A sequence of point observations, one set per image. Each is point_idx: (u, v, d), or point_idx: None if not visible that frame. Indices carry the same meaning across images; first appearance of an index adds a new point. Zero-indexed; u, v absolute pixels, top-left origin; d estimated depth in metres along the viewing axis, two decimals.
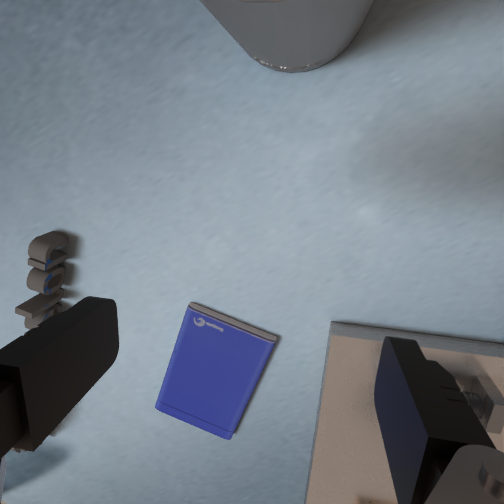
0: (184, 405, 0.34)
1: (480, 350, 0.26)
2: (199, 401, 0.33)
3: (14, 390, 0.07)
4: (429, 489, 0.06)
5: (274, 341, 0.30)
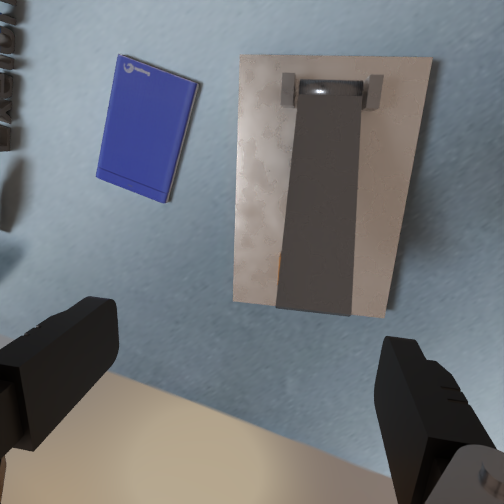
0: (121, 168, 0.37)
1: None
2: (134, 161, 0.36)
3: (14, 390, 0.07)
4: (429, 489, 0.06)
5: (195, 82, 0.33)
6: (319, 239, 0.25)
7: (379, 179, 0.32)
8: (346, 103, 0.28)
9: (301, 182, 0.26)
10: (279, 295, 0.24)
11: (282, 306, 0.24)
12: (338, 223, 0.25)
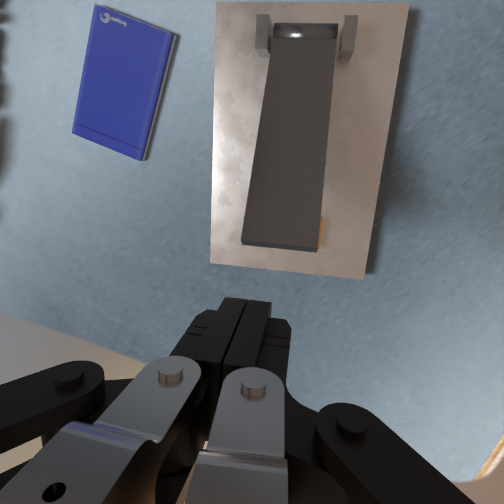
0: (97, 123, 0.36)
1: None
2: (110, 116, 0.36)
3: (212, 384, 0.08)
4: None
5: None
6: (288, 175, 0.24)
7: (357, 132, 0.32)
8: (320, 45, 0.27)
9: (271, 120, 0.25)
10: (245, 229, 0.23)
11: (247, 240, 0.23)
12: (308, 160, 0.24)
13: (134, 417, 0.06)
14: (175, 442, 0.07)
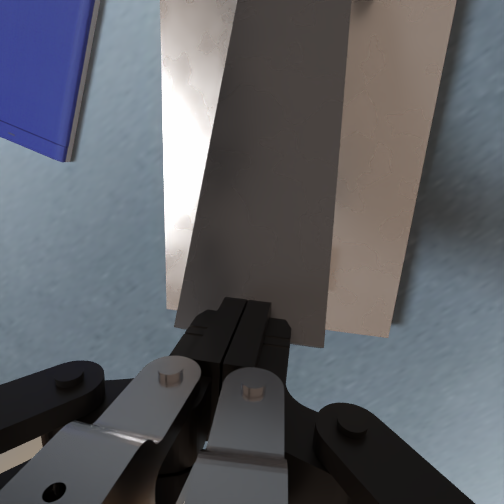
0: None
1: None
2: (14, 96, 0.24)
3: (212, 385, 0.08)
4: None
5: None
6: (267, 198, 0.13)
7: (383, 118, 0.20)
8: None
9: (240, 97, 0.14)
10: (183, 305, 0.12)
11: None
12: (304, 168, 0.13)
13: (134, 417, 0.06)
14: (175, 442, 0.07)
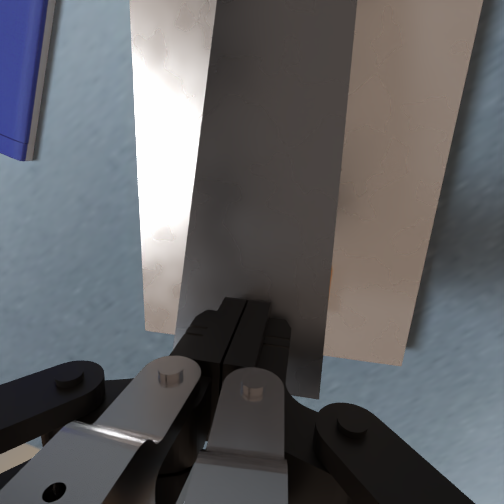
0: None
1: None
2: None
3: (212, 384, 0.08)
4: None
5: None
6: (260, 237, 0.12)
7: (398, 108, 0.17)
8: None
9: (227, 111, 0.12)
10: None
11: None
12: (301, 202, 0.12)
13: (134, 417, 0.06)
14: (175, 442, 0.07)
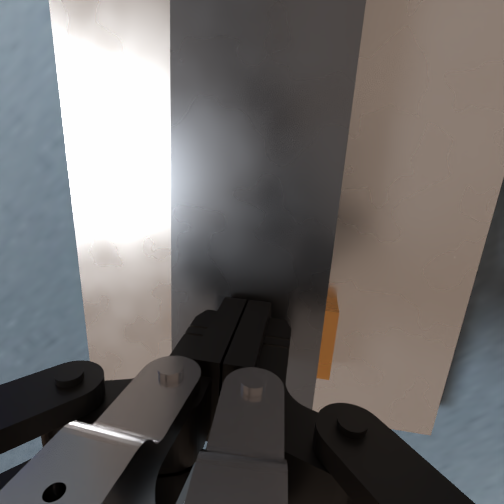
0: None
1: None
2: None
3: (212, 385, 0.08)
4: None
5: None
6: (250, 270, 0.11)
7: (439, 79, 0.11)
8: None
9: (200, 119, 0.10)
10: None
11: None
12: (293, 233, 0.10)
13: (135, 417, 0.06)
14: (175, 442, 0.07)
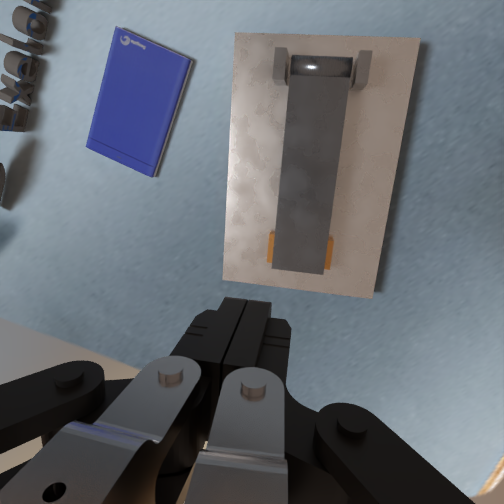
0: (111, 139, 0.37)
1: None
2: (124, 133, 0.37)
3: (212, 384, 0.08)
4: None
5: (189, 59, 0.34)
6: (303, 220, 0.32)
7: (368, 157, 0.33)
8: (334, 86, 0.29)
9: (290, 171, 0.32)
10: (274, 261, 0.34)
11: (276, 268, 0.34)
12: (319, 208, 0.32)
13: (134, 417, 0.06)
14: (175, 442, 0.07)
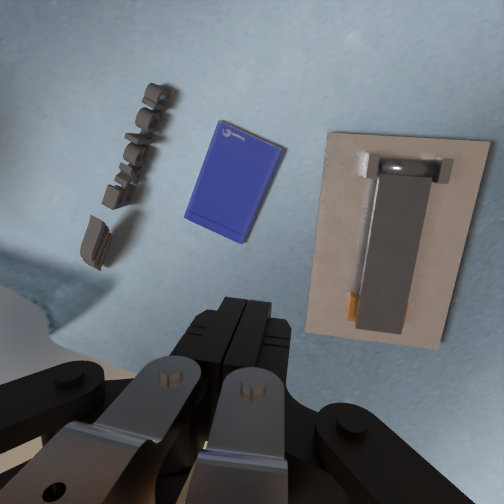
0: (208, 212, 0.43)
1: None
2: (220, 208, 0.43)
3: (212, 385, 0.08)
4: None
5: (282, 149, 0.40)
6: (386, 290, 0.38)
7: (440, 235, 0.38)
8: (418, 184, 0.35)
9: (376, 250, 0.37)
10: (358, 323, 0.40)
11: (359, 328, 0.40)
12: (400, 280, 0.38)
13: (134, 417, 0.06)
14: (175, 442, 0.07)
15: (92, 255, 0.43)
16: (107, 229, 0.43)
